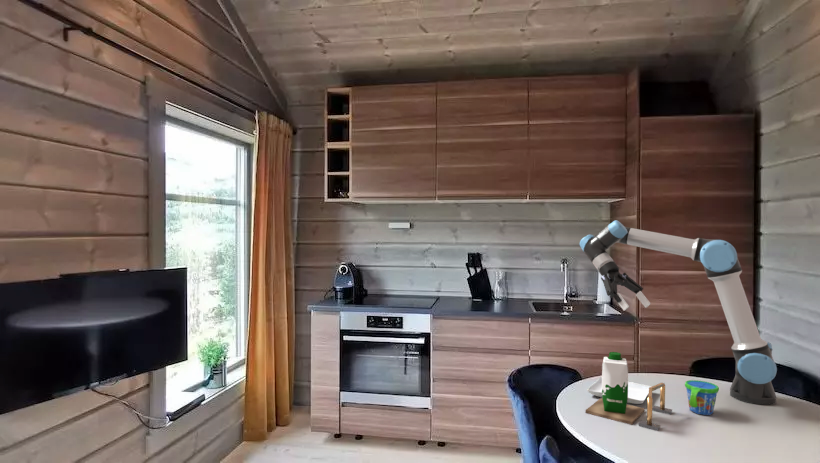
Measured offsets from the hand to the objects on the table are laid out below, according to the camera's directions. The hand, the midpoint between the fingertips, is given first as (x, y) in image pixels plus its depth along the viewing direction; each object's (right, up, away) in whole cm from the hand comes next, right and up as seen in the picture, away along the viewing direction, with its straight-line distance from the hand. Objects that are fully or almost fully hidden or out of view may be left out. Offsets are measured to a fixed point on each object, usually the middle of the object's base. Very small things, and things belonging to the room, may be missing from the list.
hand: (637, 307), depth 195 cm
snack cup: (+17, -36, -15) cm, 43 cm away
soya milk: (-16, -35, -15) cm, 41 cm away
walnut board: (-15, -36, -16) cm, 42 cm away
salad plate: (-6, -36, +2) cm, 37 cm away
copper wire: (-3, -36, -22) cm, 42 cm away
